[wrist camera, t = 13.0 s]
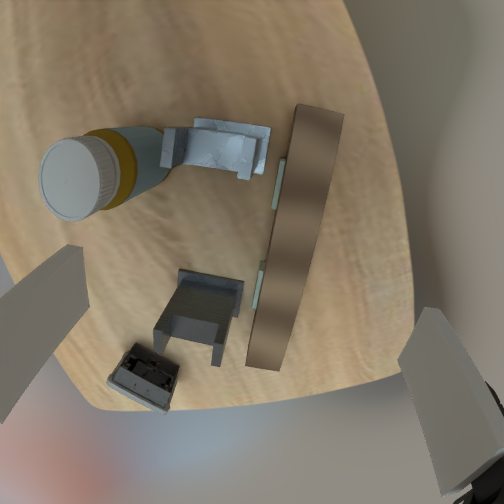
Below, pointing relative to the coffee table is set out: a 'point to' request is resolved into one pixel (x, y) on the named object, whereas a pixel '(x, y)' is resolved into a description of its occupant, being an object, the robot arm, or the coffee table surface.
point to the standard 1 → (200, 312)
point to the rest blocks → (274, 205)
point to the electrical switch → (145, 379)
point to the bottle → (100, 170)
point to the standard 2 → (217, 146)
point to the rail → (294, 232)
